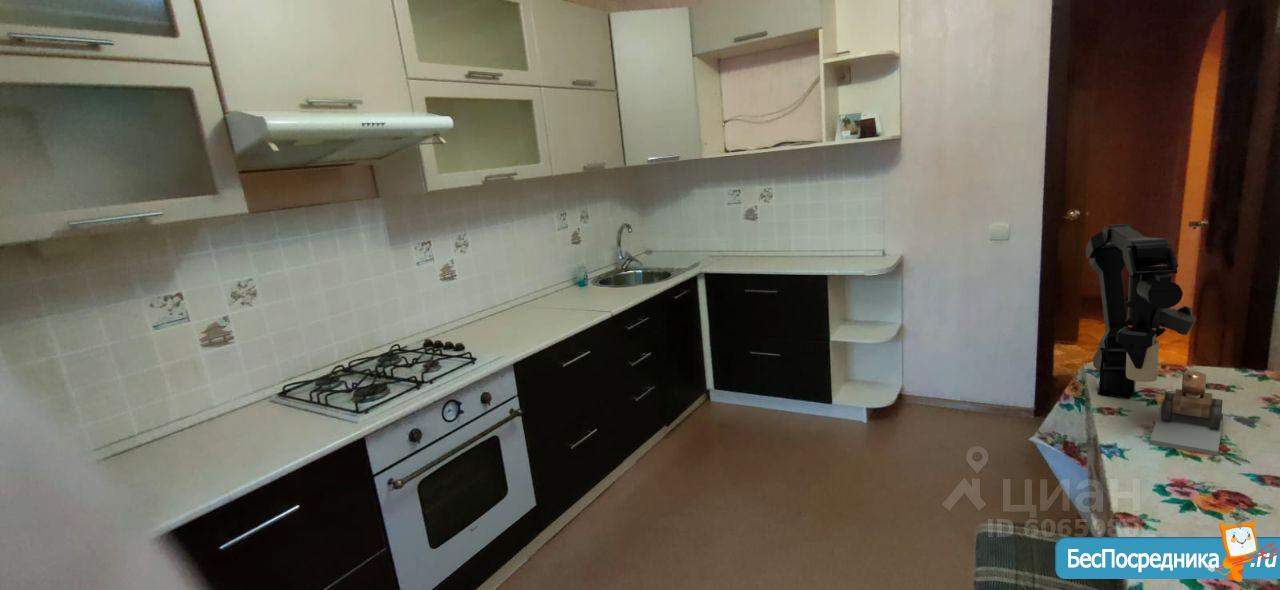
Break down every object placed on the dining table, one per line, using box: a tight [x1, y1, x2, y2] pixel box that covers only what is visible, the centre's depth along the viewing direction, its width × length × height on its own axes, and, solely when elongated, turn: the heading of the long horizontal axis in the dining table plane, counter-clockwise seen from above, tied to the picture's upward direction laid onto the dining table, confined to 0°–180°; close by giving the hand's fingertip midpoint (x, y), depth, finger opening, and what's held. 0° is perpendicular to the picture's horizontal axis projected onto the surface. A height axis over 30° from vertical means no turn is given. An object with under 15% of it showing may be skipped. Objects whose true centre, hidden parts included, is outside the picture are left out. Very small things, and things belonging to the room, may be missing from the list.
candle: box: [1126, 339, 1160, 383], centre depth 139 cm, size 6×6×10 cm
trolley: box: [1161, 388, 1224, 429], centre depth 136 cm, size 9×9×5 cm
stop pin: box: [1181, 370, 1207, 398], centre depth 136 cm, size 4×4×9 cm
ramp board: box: [1149, 404, 1224, 457], centre depth 133 cm, size 10×18×2 cm, turn 135°
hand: (1141, 364), depth 139 cm, fingers closed on candle, 5 cm apart
